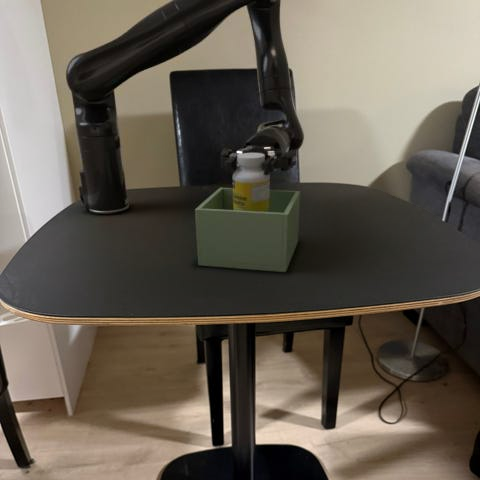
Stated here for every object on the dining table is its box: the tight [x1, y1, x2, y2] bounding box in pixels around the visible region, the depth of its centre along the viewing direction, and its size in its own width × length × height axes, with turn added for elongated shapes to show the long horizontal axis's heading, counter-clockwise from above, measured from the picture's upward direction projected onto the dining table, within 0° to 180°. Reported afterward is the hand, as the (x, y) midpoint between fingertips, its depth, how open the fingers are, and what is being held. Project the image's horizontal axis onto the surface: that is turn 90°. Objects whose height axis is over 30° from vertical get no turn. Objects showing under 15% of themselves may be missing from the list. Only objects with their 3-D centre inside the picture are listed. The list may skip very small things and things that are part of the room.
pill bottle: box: [232, 153, 271, 212], centre depth 84 cm, size 6×6×12 cm
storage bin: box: [194, 187, 301, 273], centre depth 87 cm, size 16×16×10 cm
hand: (247, 168), depth 80 cm, fingers closed on pill bottle, 5 cm apart
